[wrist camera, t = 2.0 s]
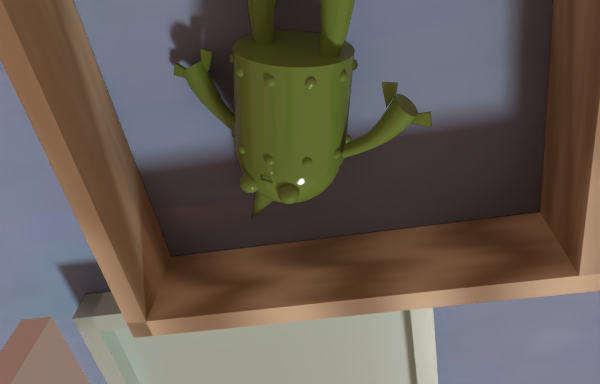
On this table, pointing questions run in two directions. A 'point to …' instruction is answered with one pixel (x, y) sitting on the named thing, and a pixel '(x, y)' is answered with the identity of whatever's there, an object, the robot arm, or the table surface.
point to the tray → (264, 350)
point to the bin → (320, 252)
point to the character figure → (294, 104)
